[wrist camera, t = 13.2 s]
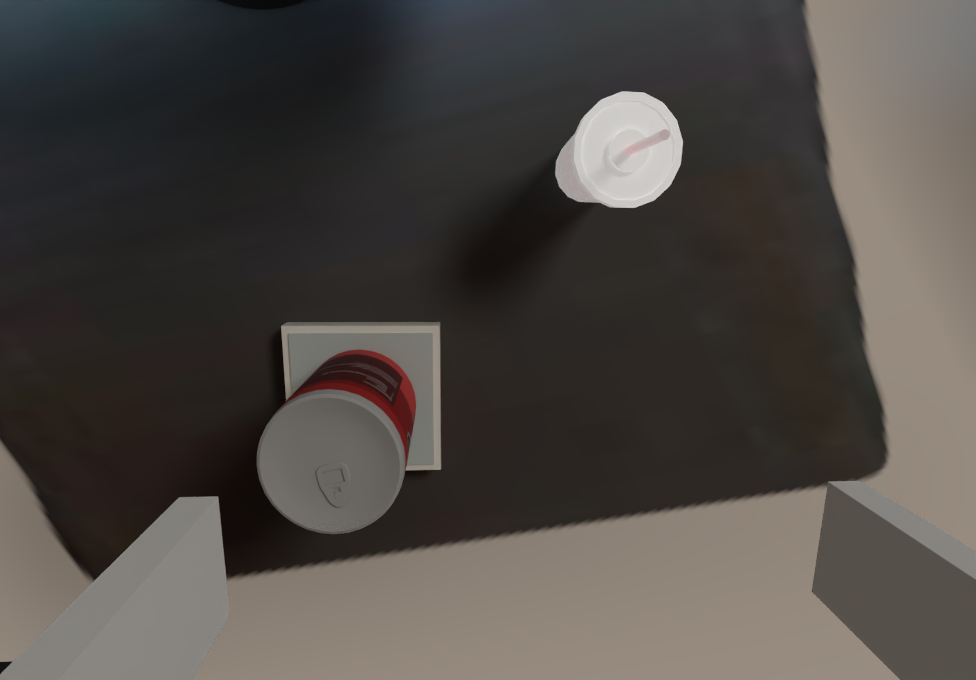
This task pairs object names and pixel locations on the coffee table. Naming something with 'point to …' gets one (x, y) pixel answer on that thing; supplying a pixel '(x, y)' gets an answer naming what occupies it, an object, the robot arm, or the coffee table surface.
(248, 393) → the coffee table surface
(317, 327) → the tray
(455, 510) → the coffee table surface
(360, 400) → the canned food
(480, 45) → the coffee table surface
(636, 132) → the beverage cup
